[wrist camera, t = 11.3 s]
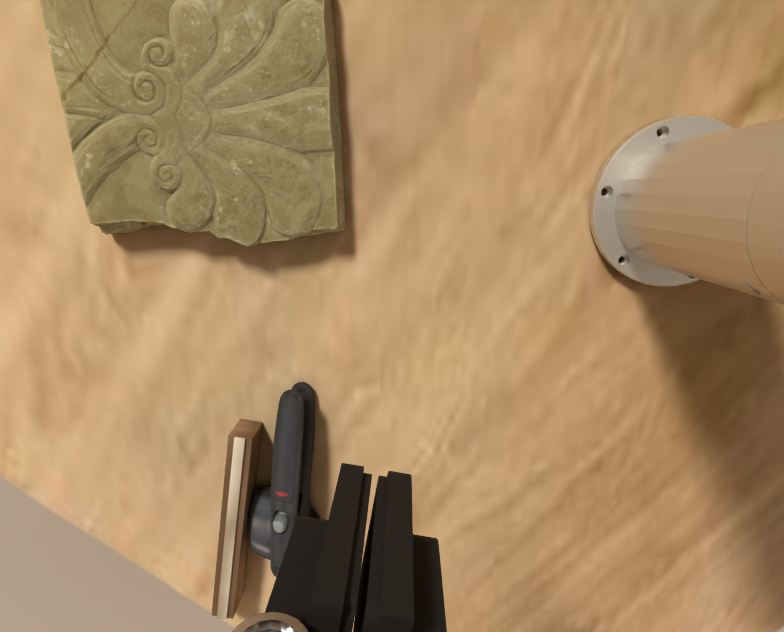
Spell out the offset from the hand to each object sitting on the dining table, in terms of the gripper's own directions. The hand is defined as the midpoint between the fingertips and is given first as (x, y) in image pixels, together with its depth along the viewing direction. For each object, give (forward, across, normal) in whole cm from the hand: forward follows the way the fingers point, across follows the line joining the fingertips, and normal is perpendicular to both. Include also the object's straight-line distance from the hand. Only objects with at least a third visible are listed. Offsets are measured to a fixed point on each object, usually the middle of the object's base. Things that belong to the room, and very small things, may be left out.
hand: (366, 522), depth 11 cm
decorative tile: (+30, +16, -10) cm, 35 cm away
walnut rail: (+29, +10, +24) cm, 39 cm away
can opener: (+30, +6, +18) cm, 35 cm away
